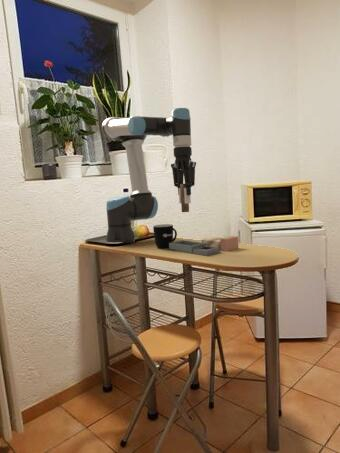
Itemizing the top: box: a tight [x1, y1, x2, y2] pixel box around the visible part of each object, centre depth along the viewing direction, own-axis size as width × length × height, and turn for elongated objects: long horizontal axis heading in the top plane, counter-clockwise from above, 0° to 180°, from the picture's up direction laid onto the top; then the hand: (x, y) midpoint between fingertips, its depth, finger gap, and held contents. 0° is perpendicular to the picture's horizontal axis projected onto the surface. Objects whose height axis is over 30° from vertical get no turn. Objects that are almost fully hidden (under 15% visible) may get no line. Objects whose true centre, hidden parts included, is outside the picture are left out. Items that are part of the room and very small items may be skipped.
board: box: [201, 236, 222, 251], centre depth 157 cm, size 10×8×4 cm
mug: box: [152, 223, 178, 250], centre depth 164 cm, size 12×9×10 cm
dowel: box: [180, 183, 190, 213], centre depth 153 cm, size 3×3×12 cm
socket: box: [192, 246, 221, 257], centre depth 147 cm, size 8×8×2 cm
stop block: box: [220, 235, 239, 252], centre depth 151 cm, size 3×8×5 cm, turn 131°
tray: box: [168, 239, 205, 254], centre depth 155 cm, size 14×8×3 cm, turn 41°
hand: (185, 203), depth 153 cm, fingers closed on dowel, 3 cm apart
